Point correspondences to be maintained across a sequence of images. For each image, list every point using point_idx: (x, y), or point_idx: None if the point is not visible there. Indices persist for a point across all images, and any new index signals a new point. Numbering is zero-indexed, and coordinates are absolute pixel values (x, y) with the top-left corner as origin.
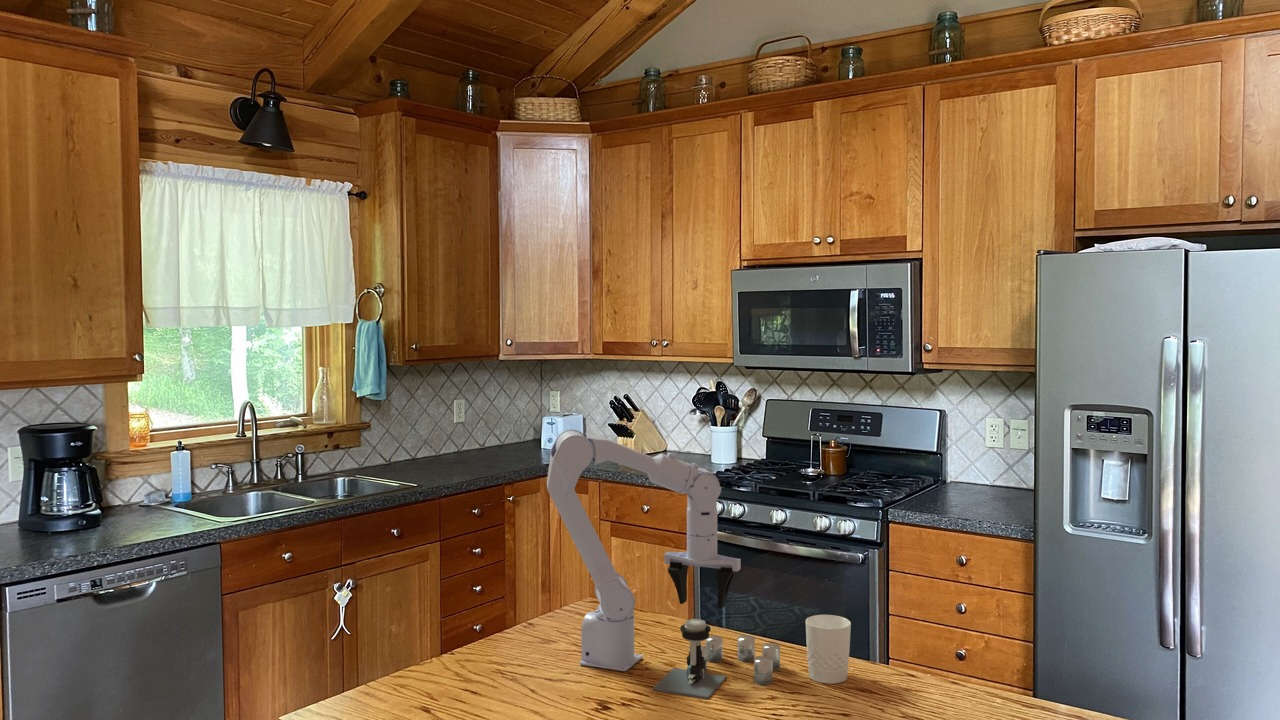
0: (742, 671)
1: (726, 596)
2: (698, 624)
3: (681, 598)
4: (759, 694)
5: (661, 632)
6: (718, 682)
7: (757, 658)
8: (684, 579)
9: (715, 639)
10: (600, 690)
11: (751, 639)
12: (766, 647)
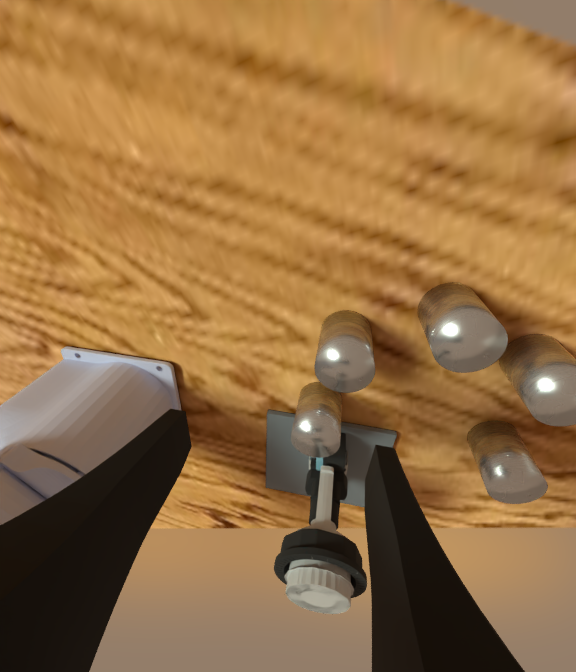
0: (436, 392)
1: (411, 492)
2: (332, 610)
3: (175, 474)
4: (476, 485)
5: (95, 131)
6: None
7: (498, 483)
8: (108, 540)
9: (351, 378)
10: (190, 487)
11: (491, 357)
12: (544, 414)
